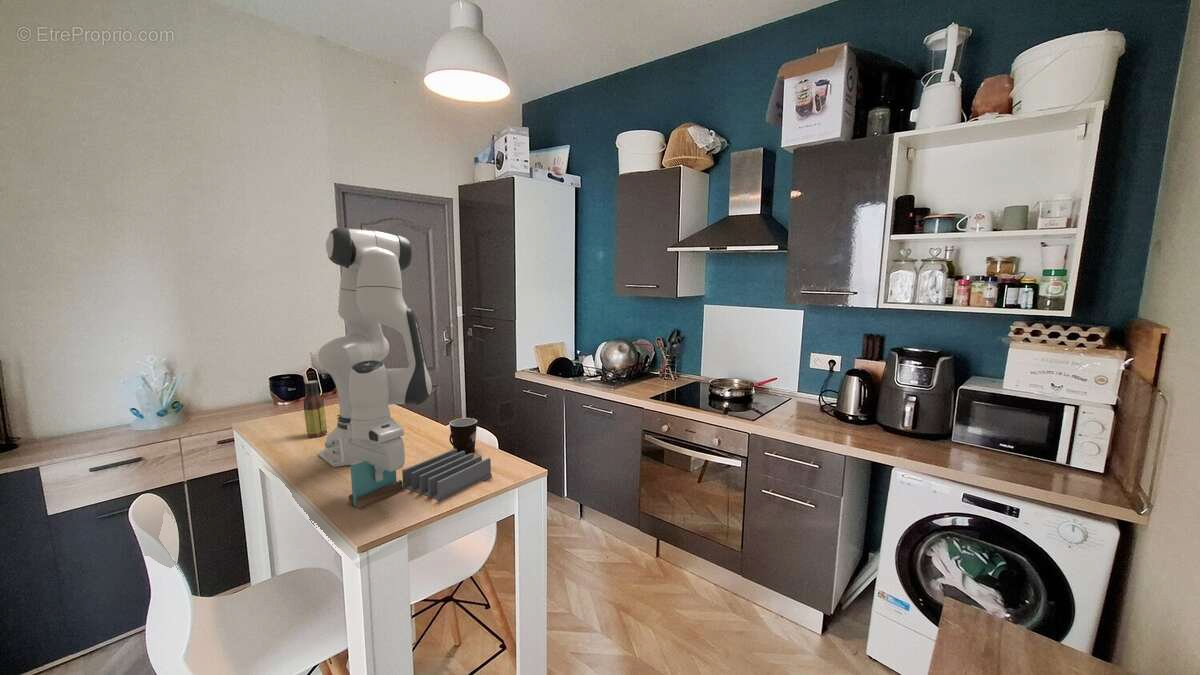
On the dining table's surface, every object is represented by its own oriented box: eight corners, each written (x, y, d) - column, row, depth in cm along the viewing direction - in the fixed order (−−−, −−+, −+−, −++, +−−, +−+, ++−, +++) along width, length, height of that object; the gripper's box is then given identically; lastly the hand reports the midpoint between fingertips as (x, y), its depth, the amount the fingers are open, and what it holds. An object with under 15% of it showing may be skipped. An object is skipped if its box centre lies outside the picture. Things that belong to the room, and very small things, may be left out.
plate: (353, 505, 111) (350, 466, 110) (393, 487, 120) (391, 451, 119) (356, 506, 110) (353, 467, 109) (396, 488, 120) (394, 452, 118)
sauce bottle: (322, 431, 167) (318, 378, 165) (330, 434, 164) (326, 380, 161) (303, 436, 162) (298, 381, 159) (310, 439, 158) (306, 384, 156)
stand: (347, 506, 112) (346, 494, 111) (391, 487, 122) (390, 476, 122) (361, 513, 109) (360, 500, 108) (405, 493, 119) (404, 481, 119)
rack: (402, 489, 121) (401, 469, 121) (455, 465, 137) (454, 448, 136) (440, 503, 114) (439, 482, 113) (491, 476, 129) (491, 458, 128)
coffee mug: (468, 444, 154) (467, 416, 153) (483, 450, 148) (482, 421, 147) (436, 455, 145) (435, 424, 144) (452, 461, 140) (450, 430, 138)
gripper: (335, 422, 116) (339, 474, 117) (384, 437, 105) (387, 494, 107) (359, 416, 121) (362, 465, 123) (408, 430, 110) (411, 483, 112)
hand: (374, 479), depth 115 cm, fingers closed on plate, 1 cm apart
